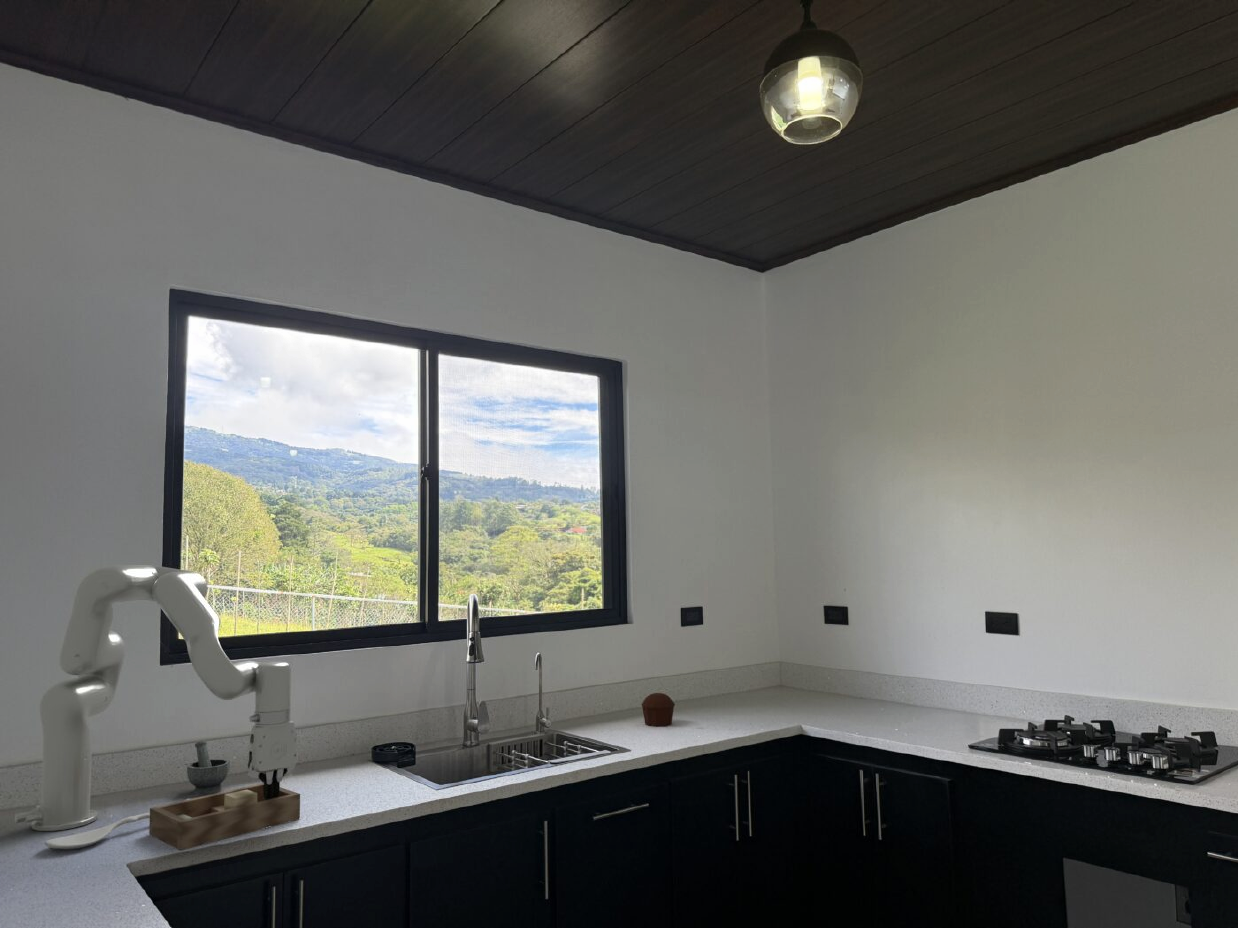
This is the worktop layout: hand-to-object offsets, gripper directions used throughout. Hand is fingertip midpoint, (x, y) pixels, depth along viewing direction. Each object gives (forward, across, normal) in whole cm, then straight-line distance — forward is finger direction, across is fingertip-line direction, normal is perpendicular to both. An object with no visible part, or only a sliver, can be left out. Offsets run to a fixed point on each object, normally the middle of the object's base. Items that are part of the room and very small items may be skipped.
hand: (271, 799), depth 199 cm
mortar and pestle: (+4, +1, +36) cm, 36 cm away
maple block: (+1, -7, 0) cm, 7 cm away
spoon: (+5, -24, +16) cm, 29 cm away
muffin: (+4, +133, -5) cm, 133 cm away
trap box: (+4, -9, +2) cm, 10 cm away
